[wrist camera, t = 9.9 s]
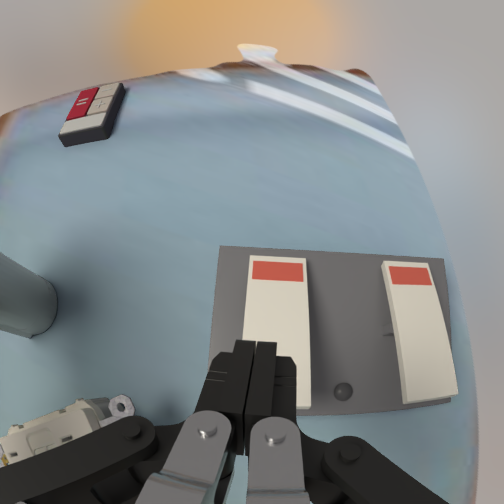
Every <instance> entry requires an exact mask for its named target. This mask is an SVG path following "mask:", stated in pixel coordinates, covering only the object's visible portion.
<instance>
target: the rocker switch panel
mask: <svg viewBox="0 0 504 504" xmlns="http://www.w3.org/2000/svg"><path fill="white" fill-rule="evenodd" d="M250 255H255V256H273V257H291V258H306V270H307V288H308V308H309V333H310V369H311V407H310V408H309V409H296V415H299V416H308V415H345V414H362V413H374V412H385V411H395V410H403V409H411V408H418V407H425V406H431V405H437V404H443V403H448V402H451V397H449V398H443V399H437V400H431V401H424V402H417V403H409V404H403V400H402V390H401V380H400V372H399V364H398V356H397V349H396V342H395V336H394V330H393V324H392V318H391V312H390V307H389V302H388V296H387V291H386V287H385V282H384V277H383V273H382V268H381V265H382V263H383V261H399V262H417V263H428V266H429V269H430V272H431V275H432V278H433V282H434V285H435V288H436V292H437V295H438V299H439V303H440V306H441V310H442V314H443V318H444V322H445V326H446V330H447V335H448V339H449V344H450V349H451V326H450V311H449V300H448V290H447V281H446V273H445V265H444V259H441V258H425V257H409V256H392V255H376V254H359V253H342V252H325V251H307V250H290V249H272V248H254V247H236V246H220V249H219V258H218V267H217V276H216V286H215V296H214V306H213V317H212V327H211V338H210V350H209V362H208V372H209V368H210V365H211V362H212V360H213V359H214V358H215V357H216V356H217V355H218V354H219V353H220V352H233V349H234V345H235V341H236V339H238V340H242V338H243V327H244V316H245V305H246V294H247V283H248V272H249V261H250Z"/></svg>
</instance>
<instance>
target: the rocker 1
mask: <svg viewBox="0 0 504 504" xmlns="http://www.w3.org/2000/svg"><path fill="white" fill-rule="evenodd" d="M242 340H251V341H256V346H257V341H265V342H277V354H276V356H290V357H291V358H292V359H293V361H294V363H295V364H296V366H297V378H296V379H297V387H296V388H297V400H296V409H309V408H310V407H311V369H310V333H309V308H308V288H307V270H306V258H291V257H273V256H255V255H250V261H249V272H248V283H247V294H246V305H245V316H244V327H243V338H242Z"/></svg>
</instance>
